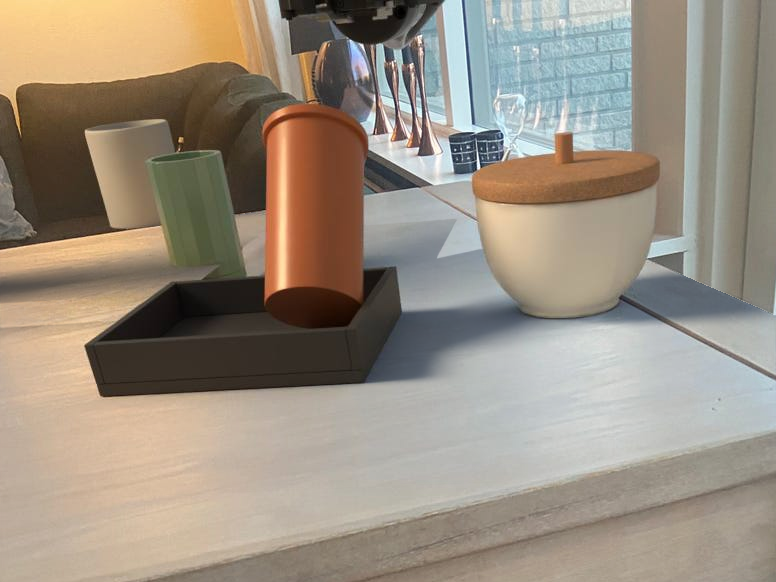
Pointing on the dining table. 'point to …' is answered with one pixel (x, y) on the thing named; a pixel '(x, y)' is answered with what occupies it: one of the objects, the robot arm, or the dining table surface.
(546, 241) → the lidded bowl
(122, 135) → the mug
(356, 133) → the pot
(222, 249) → the cup
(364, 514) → the dining table surface
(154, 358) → the dark shallow tray
